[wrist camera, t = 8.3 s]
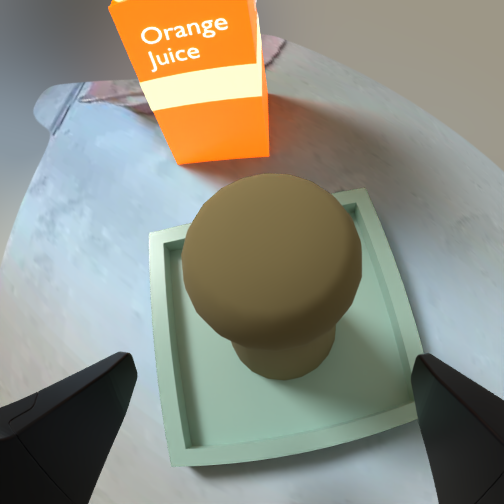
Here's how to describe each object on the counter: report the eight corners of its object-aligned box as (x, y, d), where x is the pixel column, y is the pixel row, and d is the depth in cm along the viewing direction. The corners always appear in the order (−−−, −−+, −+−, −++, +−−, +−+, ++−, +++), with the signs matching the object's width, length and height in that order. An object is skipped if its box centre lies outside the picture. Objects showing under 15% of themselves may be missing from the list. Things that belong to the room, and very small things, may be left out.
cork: (216, 298, 19) (136, 185, 9) (311, 263, 19) (323, 121, 9) (249, 395, 16) (181, 394, 6) (352, 355, 16) (433, 294, 6)
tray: (424, 410, 15) (436, 411, 13) (182, 461, 15) (171, 466, 13) (360, 202, 21) (365, 187, 19) (159, 245, 22) (148, 233, 20)
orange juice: (175, 165, 25) (76, -64, 7) (191, 101, 29) (132, -79, 11) (272, 156, 24) (230, -112, 6) (269, 92, 28) (240, -104, 10)
